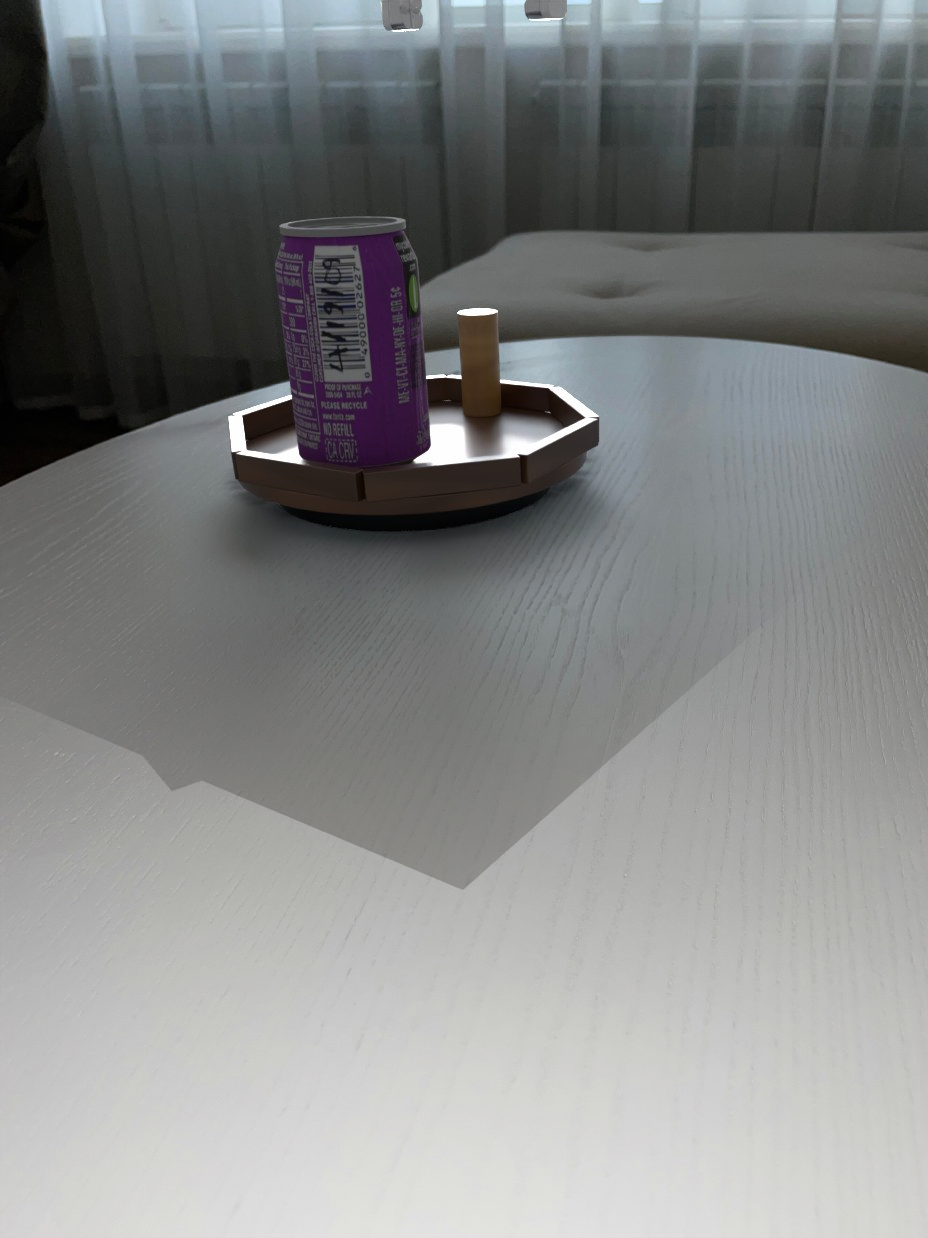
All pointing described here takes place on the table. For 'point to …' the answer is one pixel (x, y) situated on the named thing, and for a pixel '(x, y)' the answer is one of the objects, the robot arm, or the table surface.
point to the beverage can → (354, 341)
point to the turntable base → (416, 517)
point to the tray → (460, 443)
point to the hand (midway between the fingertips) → (471, 25)
